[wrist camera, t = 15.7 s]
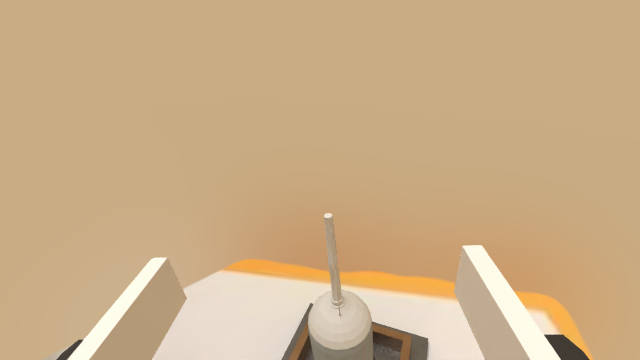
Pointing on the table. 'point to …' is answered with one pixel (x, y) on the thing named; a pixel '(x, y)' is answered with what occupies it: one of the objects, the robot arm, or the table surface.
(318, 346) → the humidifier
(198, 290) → the table surface
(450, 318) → the table surface
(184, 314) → the table surface
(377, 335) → the fitting nest
